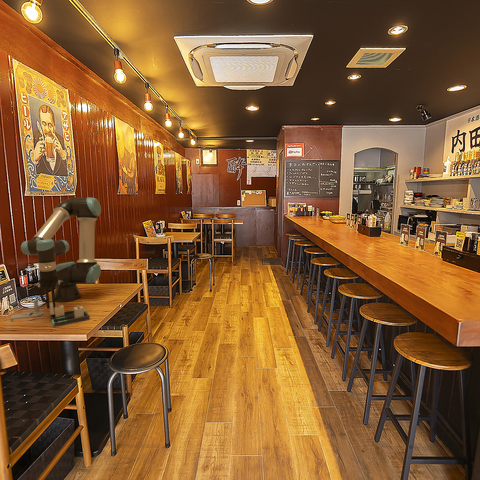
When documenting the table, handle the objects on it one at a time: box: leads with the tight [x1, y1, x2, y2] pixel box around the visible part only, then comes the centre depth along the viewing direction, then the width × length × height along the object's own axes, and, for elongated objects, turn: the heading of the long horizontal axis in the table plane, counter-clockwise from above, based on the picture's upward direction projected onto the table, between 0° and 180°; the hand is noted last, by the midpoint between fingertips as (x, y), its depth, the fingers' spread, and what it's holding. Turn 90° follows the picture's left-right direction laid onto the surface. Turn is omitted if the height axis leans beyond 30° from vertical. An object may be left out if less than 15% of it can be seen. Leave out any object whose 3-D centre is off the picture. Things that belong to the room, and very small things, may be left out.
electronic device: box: [10, 299, 44, 323], centre depth 163 cm, size 5×10×15 cm
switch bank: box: [49, 307, 90, 328], centre depth 161 cm, size 17×16×3 cm
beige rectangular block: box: [53, 303, 65, 317], centre depth 161 cm, size 4×4×7 cm
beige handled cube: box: [73, 305, 85, 318], centre depth 160 cm, size 4×4×7 cm
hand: (52, 313), depth 159 cm, fingers closed
